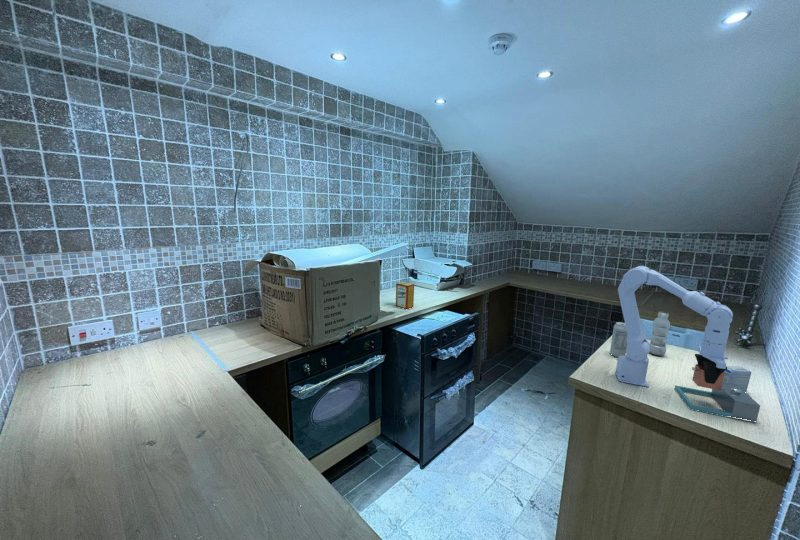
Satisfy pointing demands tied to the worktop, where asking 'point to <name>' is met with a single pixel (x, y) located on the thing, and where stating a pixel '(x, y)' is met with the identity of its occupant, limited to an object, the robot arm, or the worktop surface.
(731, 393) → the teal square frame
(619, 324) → the energy drink can
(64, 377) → the worktop surface
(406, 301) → the baking soda box
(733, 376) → the medicine box
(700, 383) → the brown wooden block
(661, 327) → the plastic bottle
